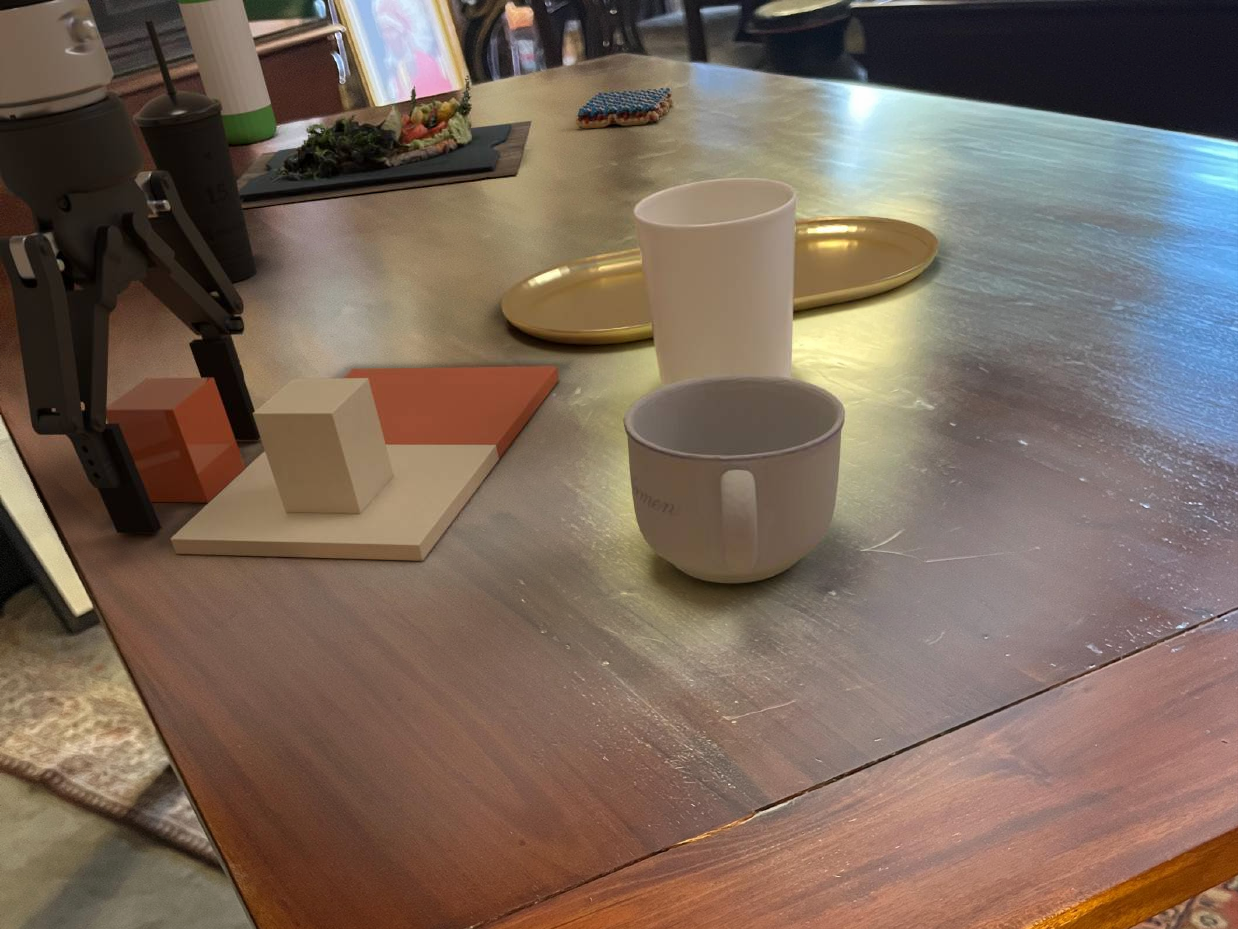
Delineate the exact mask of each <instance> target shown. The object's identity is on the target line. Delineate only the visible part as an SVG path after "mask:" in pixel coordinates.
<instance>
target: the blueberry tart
mask: <svg viewBox="0 0 1238 929" xmlns="http://www.w3.org/2000/svg"><path fill="white" fill-rule="evenodd" d="M672 96H673V91H672V90H671V89H670V87H666V88H665V90H664V87H660V88H659V89H658V90H657V89H656V88H653V89H652V90H651V88H648V89H647V90H644V89H641V90H640V91H639V89H635V90H634V91H631V90H628V91H626V90H623V91H621V92H619V91H615V93H614V91H610V93H607V92H603V93H602V92H598V93H597V94H595V95H594V96H593V97H592V98H591V99H589V100H588V102H585V104H584V105H583V106H582V107H581V108H578V111H577V118H576V119H575V120H574V123H575V124H576V125H577V126H578V127H580V128H583V129H595V128H605V127H608V126H609V125H611V124H612V125H620V126H622V127H623V126H624V127H625V126H636V125H637V126H639V125H645V124H647V123H648V122H659V120H660V117H663V115H666V114H669V110H670V107H673V106H674V99H673V98H672Z"/></svg>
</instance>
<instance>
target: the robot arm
mask: <svg viewBox="0 0 1238 929" xmlns="http://www.w3.org/2000/svg"><path fill="white" fill-rule="evenodd" d="M97 26H98V25H97V23H96V21H95V17H94V15H93V12H92V9H91V6H90V4H89V0H0V178H1V181H2V182H3V185H4V187H5V189H6V190H7V192H8V193H10V194H11V195H12V196H14V197H16V198H19V199H20V200H21V201H22V202H24V203H25V204H26V205H27V207H28V208H29V210H30V212H31V216H32V217H31V218H32V221H33V226H34V228H33V229H34V233H31V234H27V235H11V236H10V235H9V236H1V237H0V259H1V261H2V264H3V266H4V270H5V272H6V275H7V277H8V280H9V283H10V285H11V290H12V299H13V304H14V305H13V306H14V311H15V319H16V325H17V332H18V333H17V334H18V340H19V347H20V348H19V349H20V353H21V361H22V367H23V375H24V381H25V382H24V383H25V389H26V396H27V402H28V408H29V417H30V423H31V427H32V429H33V431H34V432H35V433H36V434H37V435H40V436H66V437H67V438H68V439H69V440H70V443H71V445H72V447H73V449H74V451H75V454H76V455H77V457H78V460H79V462H80V464H81V465H82V469H83V471H84V473H85V475H86V477H87V480H88V482H89V483H90V484H91V486H92V487H93V488H94V489H97V490H98V493H99V495H100V497H101V500H102V502H103V504H104V506H105V508H106V511H107V513H108V515H109V517H110V520H111V523H112V524H113V527H114V529H115V531H116V533H118V534H155V535H156V533H158V532H159V531H160V530H161V529H162V525H161V523H160V520H159V518H158V515H157V513H156V511H155V508H154V506H153V502H151V501H150V498H149V496H148V494H147V491H146V489H145V486H144V484H143V482H142V479H141V477H140V474H139V472H138V470H137V467H136V465H135V462H134V460H133V457H132V455H131V453H130V450H129V448H128V445H127V443H126V441H125V438H124V436H123V433H122V431H121V429H120V426H119V424H118V423H115V424H108V423H107V419H106V408H107V407H108V404H107V401H108V375H109V373H108V372H109V371H108V370H109V344H110V343H109V341H110V340H109V337H110V314H111V313H112V312H113V311H114V310H116V309H117V306H118V295H120V294H122V293H123V292H125V291H126V290H127V289H128V288H129V286H130V285H131V284H132V282H139V283H140V284H142V286H143V287H145V288H146V289H147V290H148V292H150V293H151V294H152V295H153V296H154V297H155V298H156V299H157V300H158V301H159V302H160V303H161V304H162V305H163V306H165V307H166V308H167V309H168V310H169V311H170V313H172V314H173V315H174V316H175V317H177V319H179V320H180V321H181V322H182V323H183V324H184V325H185V326H186V327H187V328H188V329H189V330H190V331H191V332H192V333H193V334H194V335H196V336H197V337H198V336H199V337H200V336H201V338H199V339H198V338H196V339H195V338H194V339H193V340H192V341H190V342H189V343H188V346H189V348H190V351H191V354H192V356H193V360H194V362H195V365H196V367H197V371H198V373H199V376H200V378H214V380H215V383H216V385H217V388H218V391H219V394H220V397H221V400H222V403H223V406H224V408H225V411H226V414H227V417H228V420H229V423H230V426H231V428H232V431H233V434H234V437H235V440H236V441H259V440H261V437H260V434H259V431H258V428H257V425H256V422H255V419H254V416H253V413H254V412H255V411H256V410H255V407H254V405H253V404H254V403H253V401H252V398H251V395H250V392H249V390H248V386H247V384H246V380H245V373H244V370H243V366H242V363H241V361H240V357H239V355H238V351H237V348H236V346H235V343H234V339H233V337H232V336H235V335H239V336H240V335H243V334H244V331H245V321H244V319H243V317H242V316H241V315H242V314H243V313H244V309H245V306H244V301H243V299H242V297H241V295H240V294H239V292H238V291H237V289H236V287H235V286H234V285H233V283H231V281H230V280H229V278H228V277H227V275H226V273H225V272H224V270H223V269H222V267H221V266H220V264H219V263H218V261H217V259H216V258H215V256H214V255H213V253H212V252H211V250H210V248H209V247H208V245H207V244H206V242H205V241H204V239H203V238H202V236H201V234H200V233H199V231H198V230H197V228H196V227H195V225H194V223H193V222H192V220H191V219H190V217H189V216H188V214H187V213H186V211H185V209H184V208H183V205H182V203H181V200H180V198H179V195H178V193H177V190H176V187H175V185H174V182H173V180H172V177H171V176H170V174H169V173H168V172H167V171H165V170H163V171H158V170H148V171H143V169H144V166H145V157H144V155H143V151H142V148H141V145H140V143H139V140H138V137H137V133H136V130H135V129H134V125H133V123H132V120H131V117H130V114H129V111H128V109H127V105H126V102H125V100H124V99H123V98H121V97H119V95H118V94H117V93H116V92H114V91H113V92H112V91H108V87H107V86H108V85H109V84H111V81H112V80H113V77H114V75H115V73H114V70H113V68H112V65H111V62H110V59H109V56H108V54H107V51H106V49H105V48H106V47H105V44H104V43H103V40H102V37H101V35H100V31H99V29H98V27H97ZM75 285H76V286H77V287H78V288H79V289H75ZM213 293H217V295H213ZM82 403H83V406H84V409H82ZM53 409H54V410H53Z"/></svg>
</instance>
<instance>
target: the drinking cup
mask: <svg viewBox="0 0 1238 929" xmlns="http://www.w3.org/2000/svg"><path fill="white" fill-rule="evenodd" d="M144 25H145V28H146V31H147V34H148V38H149V40H150V43H151V46H152V49H153V53H154V56H155V59H156V62H157V65H158V67H159V72H160V74H161V77H162V80H163V84H164V87H165V90H166V93H162V94H161V95H158V96H156V97H154V98H152V99H150V100H149V101H147V103H145V104H144V105H143V106H142V108H141V109H140V110H139V111H138V112H136V113H135V114H133V116H132V121H133V124H134V125H135V126H137V127H138V128H139V130H140V133H141V135H142V137H143V140H144V142H145V144H146V146H147V149H148V152H149V153H150V156H151V158H152V161H153V163H154V165H155V168H156V171H163V170H165V171H167V172H168V173H169V174H170V176H171V177H172V180H173V182H174V185H175V187H176V190H177V193H178V195H179V198H180V200H181V203H182V205H183V208H184V209H185V211H186V213H187V214H188V216H189V217H190V219H191V220H192V222H193V223H194V225H195V227H196V228H197V230H198V231H199V233H200V234H201V236H202V238H203V239H204V241H205V242H206V244H207V245H208V247H209V248H210V250H211V252H212V253H213V255H214V256H215V258H216V259H217V261H218V263H219V264H220V266H221V267H222V269H223V270H224V272H225V273H226V275H227V277H228V278H229V280H230V281H231V283H232V284H233V283H237V282H242V281H244V280H247V279H249V278H251V277H253V276H254V275H255V274H256V273H257V268H256V262H255V259H254V254H253V249H252V246H251V241H250V240H251V239H250V236H249V232H248V227H247V224H246V223H247V222H246V219H245V214H244V208H242V205H241V200H240V196H239V191H238V187H237V178H236V174H235V169H234V164H233V160H232V156H231V155H232V154H231V151H230V146H229V144H228V142H227V138H226V133H225V129H224V124H223V120H222V115H221V110H222V109H223V106H222V103H221V101H220V100H217V99H211V98H209V97H207V96H206V94H202V93H199V92H196V91H195V92H194V91H187V90H185V91H184V90H176V89H175V86H174V82H173V79H172V77H171V74H170V70H169V67H168V65H167V61H166V58H165V54H164V52H163V49H162V46H161V42H160V38H159V36H158V33H157V30H156V27H155V23H154V20H153V19H147V20H144Z"/></svg>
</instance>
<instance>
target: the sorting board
mask: <svg viewBox="0 0 1238 929" xmlns="http://www.w3.org/2000/svg"><path fill="white" fill-rule="evenodd" d="M343 378H368V379H369V383H370V387H371V391H372V395H373V398H374V402H375V406H376V410H377V414H378V417H379V421H380V425H381V429H382V433H383V436H384V440H385V444H386V448H387V452H388V455H389V459H390V463H391V467H392V471H393V475H394V476H393V477H392V478H391V480H390V481H389V482H388V483H387V484H386V485H385V486H384V488H383V489H382V490H381V491H380V492H379V493H378V495H377V496H376V497H375V498H374V499H373V500H372V501H371V503H370V504H369V505H368V506H367V507H366V508H365V509H364V511H363V512H362V513H361V514H353V513H298V512H285V509H284V506H283V503H282V500H281V497H280V494H279V491H278V488H277V485H276V482H275V479H274V476H273V473H272V470H271V467H270V464H269V461H268V458H267V455H266V452H265V450H264V451H263V452H262V453H260V455H258V456H257V457H256V458H255V459H254V460H253V461H251V463H250V464H249V465H248V466H247V467H245V469H244V470H243V471H242V472H241V473H239V474H238V475H237V476H236V477H235V478H234V479H233V480H232V481H231V482H230V483H229V484H228V485H227V486H225V487H224V488H223V489H222V490H221V491H220V492H219V493H218V494H217V495H216V496H215V497H214V498H213V499H212V500H210V501H209V502H208V503H206V505H205V506H204V507H202V508H201V510H199V511H198V512H197V513H196V514H195V515H194V516H193V517H192V518H191V519H189V520H188V521H187V523H185V524H184V525H183V526H182V527H181V528H180V529H179V530H178V531H177V532H176V533H175V534H173V535H172V536H171V537H170V539H169V540H170V541H171V545H172V547H173V549H174V552H175V554H177V555H208V556H211V555H213V556H240V557H241V556H243V557H245V556H247V557H280V558H281V557H282V558H314V559H316V558H317V559H345V560H346V559H349V560H352V559H353V560H384V561H385V560H386V561H387V560H388V561H419V562H421V561H422V562H423V561H424V560H425V559H426V557H427V556H428V554H430V552H431V550H432V549H433V548H434V546H435V545H436V544H437V543H438V542H439V540H440V538H441V537H443V534H444V533H445V532H446V530H447V529H448V528H449V527H450V525H451V524H452V523H453V521H454V520H455V518H456V517H457V516H458V515H459V513H460V512H462V510H463V508H464V506H465V505H466V504H467V503H468V501H469V500H470V499H471V498H472V496H473V495H474V493H475V492H476V491H477V489H478V488H479V487H480V486H481V485H482V483H483V482H484V481H485V479H486V478H487V476H488V475H489V473H490V472H491V471H492V469H494V467H495V465H496V464H497V463H498V462H499V461H500V459H501V457H502V456H503V455H504V453H505V452H506V451H507V449H508V448H509V447H510V445H511V444H512V443H513V441H514V440H515V439H516V437H517V436H518V435H519V434H520V432H521V431H522V429H523V428H524V427H525V426H526V425H527V423H528V421H529V420H530V419H531V417H533V415H534V414H535V412H536V411H537V410H538V409H539V407H540V405H541V404H542V403H543V402H544V400H545V399H546V398H547V396H548V395H549V393H550V392H551V391H552V389H554V387H555V386H556V384H557V383H558V382H559V380H560V377H559V371H558V366H557V365H534V366H533V365H532V366H531V365H530V366H529V365H528V366H527V365H525V366H522V365H521V366H471V367H470V366H467V367H465V366H461V367H460V366H459V367H457V366H453V367H397V368H396V367H394V368H393V367H390V368H389V367H388V368H385V367H384V368H353V369H351V370H350V371H349V372H348V373H347V374H346V375H345V376H343Z"/></svg>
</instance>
